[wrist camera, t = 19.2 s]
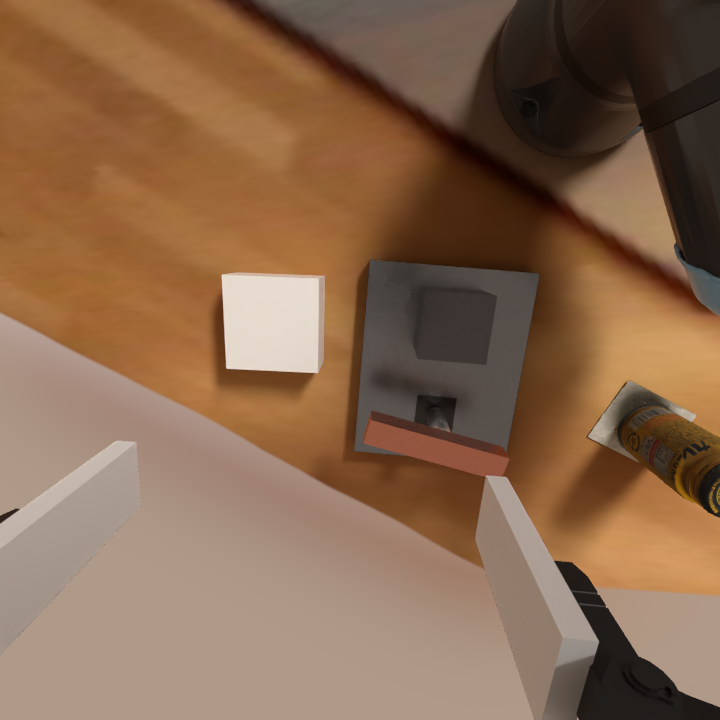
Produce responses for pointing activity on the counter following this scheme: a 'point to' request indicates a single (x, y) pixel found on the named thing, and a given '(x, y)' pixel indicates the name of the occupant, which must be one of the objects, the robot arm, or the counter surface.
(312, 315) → the cover
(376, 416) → the t key
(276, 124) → the counter surface
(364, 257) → the counter surface
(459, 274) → the latch plate
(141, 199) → the counter surface
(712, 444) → the condiment
